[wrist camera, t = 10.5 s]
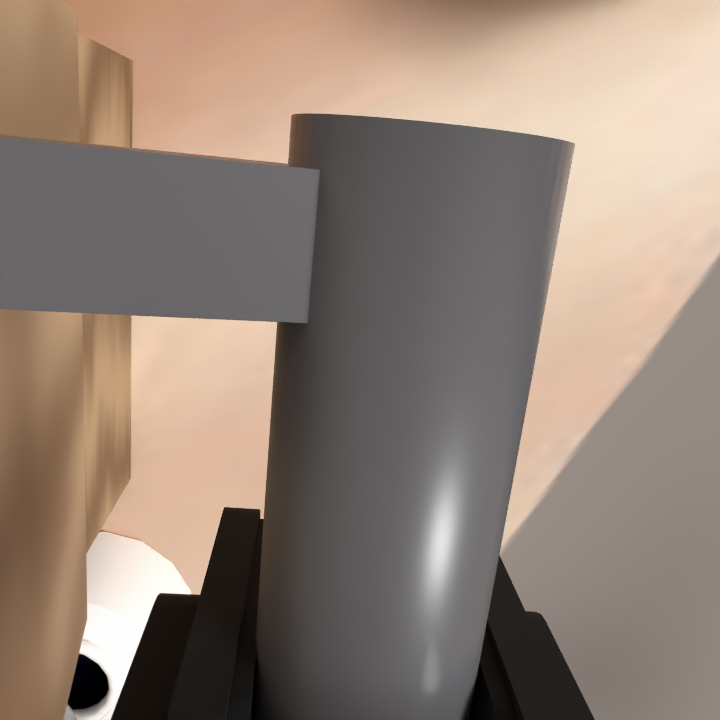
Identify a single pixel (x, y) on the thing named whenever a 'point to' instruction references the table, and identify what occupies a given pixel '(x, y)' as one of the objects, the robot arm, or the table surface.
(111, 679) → the inkwell
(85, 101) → the wooden box
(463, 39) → the table surface
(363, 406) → the hinged box lid
